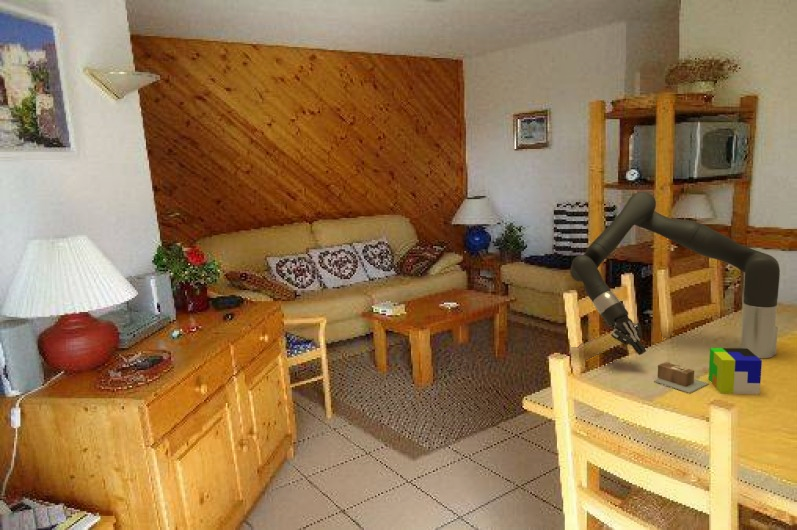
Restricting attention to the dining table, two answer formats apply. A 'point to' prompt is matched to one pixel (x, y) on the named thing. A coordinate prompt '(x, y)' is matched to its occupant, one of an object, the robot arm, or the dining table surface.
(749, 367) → the puzzle toy
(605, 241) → the robot arm
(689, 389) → the felt mat
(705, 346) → the dining table surface
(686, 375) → the walnut block
